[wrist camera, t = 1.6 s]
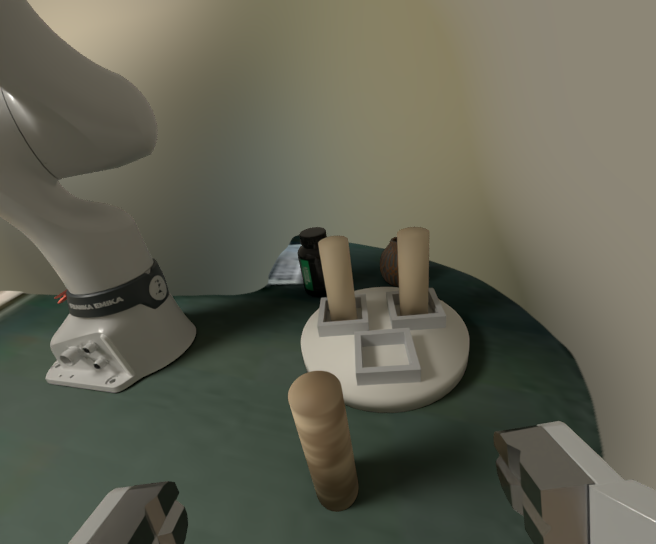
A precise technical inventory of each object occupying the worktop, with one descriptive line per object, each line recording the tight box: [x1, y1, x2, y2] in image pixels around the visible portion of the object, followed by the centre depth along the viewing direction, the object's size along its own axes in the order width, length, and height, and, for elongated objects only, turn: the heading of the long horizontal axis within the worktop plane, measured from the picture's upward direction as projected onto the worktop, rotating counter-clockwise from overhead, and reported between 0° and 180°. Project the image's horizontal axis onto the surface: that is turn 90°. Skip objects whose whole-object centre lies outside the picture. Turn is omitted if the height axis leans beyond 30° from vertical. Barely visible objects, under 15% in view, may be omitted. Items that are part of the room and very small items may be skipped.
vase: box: [380, 237, 399, 286], centre depth 57 cm, size 7×7×9 cm
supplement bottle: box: [298, 227, 327, 297], centre depth 58 cm, size 7×7×12 cm
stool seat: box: [301, 227, 469, 413], centre depth 41 cm, size 23×23×16 cm
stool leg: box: [288, 371, 359, 511], centre depth 26 cm, size 4×4×13 cm
